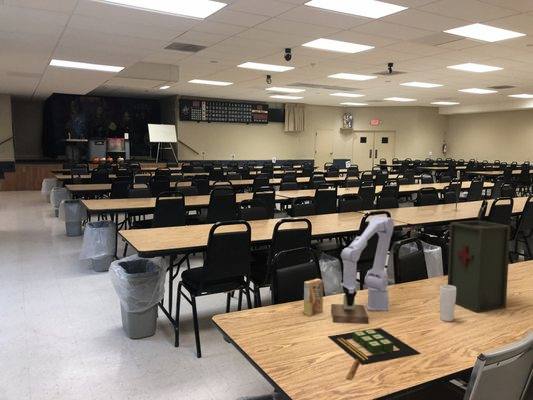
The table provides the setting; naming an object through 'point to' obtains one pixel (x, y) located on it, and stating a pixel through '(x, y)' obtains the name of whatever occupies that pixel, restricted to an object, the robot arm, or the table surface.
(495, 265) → the first aid box
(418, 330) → the table surface
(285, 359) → the table surface
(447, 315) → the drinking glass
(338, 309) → the walnut base
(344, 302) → the green block
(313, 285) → the candy box
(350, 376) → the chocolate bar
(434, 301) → the table surface
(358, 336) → the sushi
